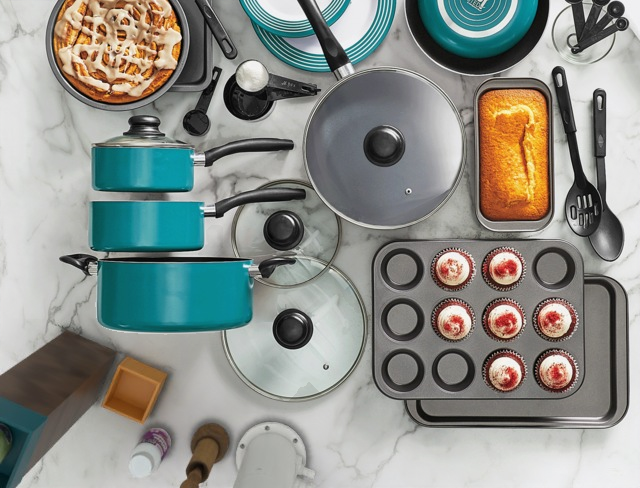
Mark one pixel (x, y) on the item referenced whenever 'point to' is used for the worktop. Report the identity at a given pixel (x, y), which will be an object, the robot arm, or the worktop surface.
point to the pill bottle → (149, 452)
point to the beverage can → (5, 441)
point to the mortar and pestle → (205, 453)
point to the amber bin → (134, 390)
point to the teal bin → (19, 440)
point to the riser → (58, 384)
